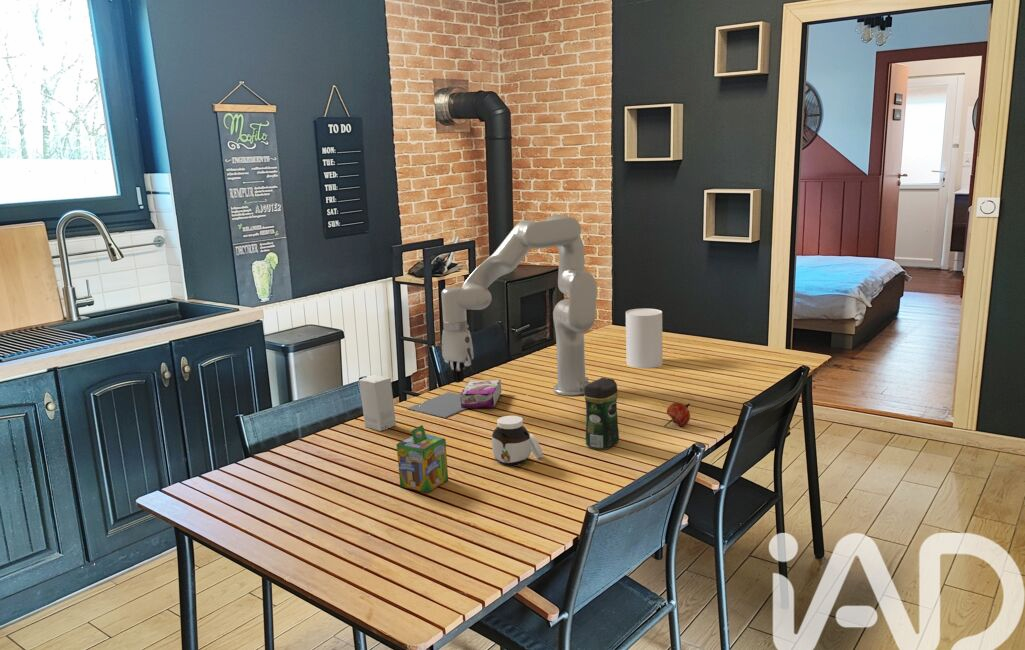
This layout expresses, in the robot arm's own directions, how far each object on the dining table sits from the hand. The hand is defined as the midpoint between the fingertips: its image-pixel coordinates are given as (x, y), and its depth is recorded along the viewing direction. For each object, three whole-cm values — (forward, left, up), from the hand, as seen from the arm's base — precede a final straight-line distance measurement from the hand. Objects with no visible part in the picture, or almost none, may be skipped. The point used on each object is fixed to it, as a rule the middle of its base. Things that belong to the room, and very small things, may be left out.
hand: (458, 381), depth 250 cm
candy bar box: (-6, -2, -6) cm, 9 cm away
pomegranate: (-67, -21, -9) cm, 71 cm away
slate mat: (+6, 0, -9) cm, 11 cm away
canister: (-26, -76, -9) cm, 81 cm away
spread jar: (-43, +24, -9) cm, 50 cm away
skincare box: (+10, +26, -9) cm, 29 cm away
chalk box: (-32, +49, -10) cm, 59 cm away
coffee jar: (-56, +3, -9) cm, 57 cm away
